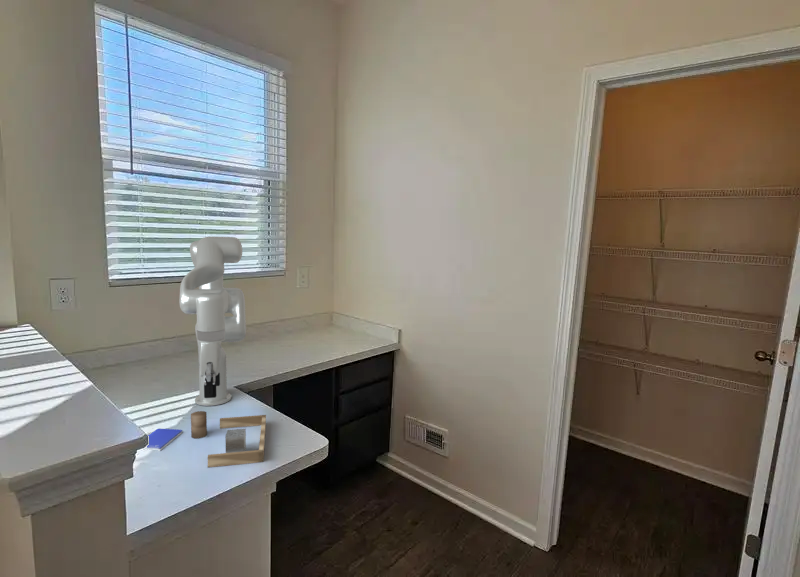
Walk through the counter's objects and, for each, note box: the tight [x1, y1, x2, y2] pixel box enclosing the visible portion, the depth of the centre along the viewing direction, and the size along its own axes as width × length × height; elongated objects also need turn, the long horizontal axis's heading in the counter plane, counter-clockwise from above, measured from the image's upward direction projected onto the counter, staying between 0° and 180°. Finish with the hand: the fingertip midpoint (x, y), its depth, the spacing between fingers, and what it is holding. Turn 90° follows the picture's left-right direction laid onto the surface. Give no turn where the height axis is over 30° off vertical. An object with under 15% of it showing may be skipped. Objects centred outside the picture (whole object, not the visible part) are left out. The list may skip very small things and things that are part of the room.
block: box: [225, 428, 247, 453], centre depth 128 cm, size 4×5×6 cm
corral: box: [207, 414, 267, 468], centre depth 134 cm, size 26×14×3 cm, turn 15°
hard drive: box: [142, 428, 183, 452], centre depth 134 cm, size 2×8×12 cm
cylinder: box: [190, 410, 208, 440], centre depth 138 cm, size 4×4×7 cm
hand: (212, 391), depth 133 cm, fingers open, 9 cm apart
